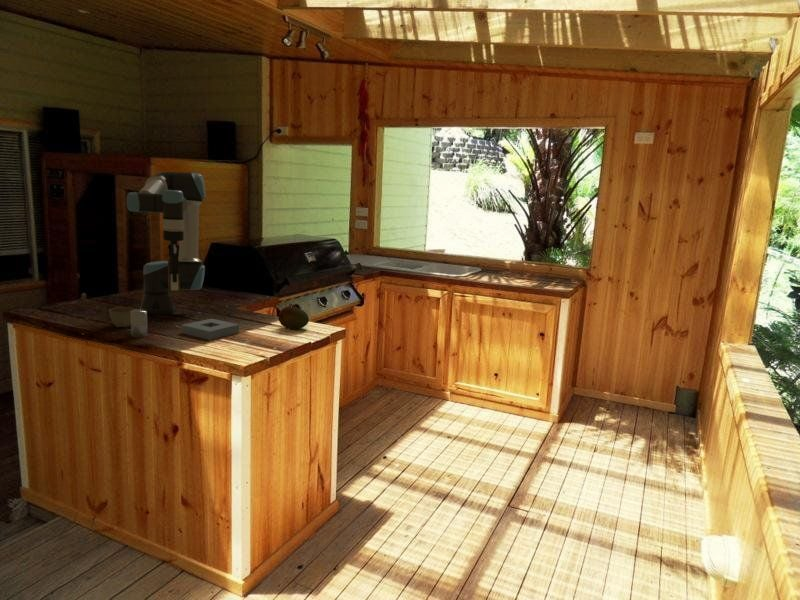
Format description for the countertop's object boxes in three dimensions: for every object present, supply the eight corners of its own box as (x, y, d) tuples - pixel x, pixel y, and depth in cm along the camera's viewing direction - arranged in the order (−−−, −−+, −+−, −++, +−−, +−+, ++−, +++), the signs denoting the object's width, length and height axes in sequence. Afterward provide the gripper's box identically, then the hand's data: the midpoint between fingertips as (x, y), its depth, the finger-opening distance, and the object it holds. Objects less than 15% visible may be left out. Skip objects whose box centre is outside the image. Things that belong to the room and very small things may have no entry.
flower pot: (141, 325, 255) (140, 308, 253) (123, 330, 245) (122, 313, 244) (122, 322, 258) (121, 306, 256) (103, 327, 248) (103, 310, 247)
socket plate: (181, 333, 246) (181, 324, 245) (211, 326, 260) (211, 318, 259) (209, 340, 238) (209, 331, 238) (238, 332, 252) (238, 324, 252)
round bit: (127, 335, 238) (127, 310, 236) (140, 332, 243) (140, 308, 241) (137, 338, 235) (137, 313, 233) (150, 335, 240) (150, 310, 238)
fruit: (274, 327, 265) (275, 304, 263) (300, 324, 273) (300, 302, 271) (286, 333, 256) (287, 310, 254) (312, 330, 264) (313, 307, 262)
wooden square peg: (168, 294, 241) (167, 260, 239) (178, 294, 243) (178, 260, 241) (169, 296, 238) (168, 261, 235) (179, 296, 240) (179, 261, 237)
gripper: (161, 228, 242) (162, 285, 246) (164, 232, 227) (165, 293, 231) (181, 228, 245) (181, 285, 249) (185, 232, 230) (186, 292, 234)
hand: (174, 288), depth 240 cm, fingers closed on wooden square peg, 4 cm apart
